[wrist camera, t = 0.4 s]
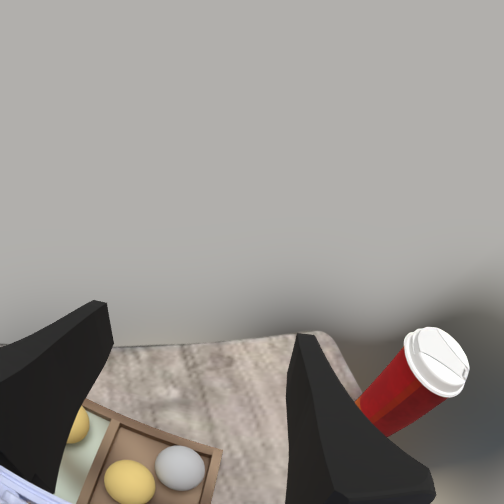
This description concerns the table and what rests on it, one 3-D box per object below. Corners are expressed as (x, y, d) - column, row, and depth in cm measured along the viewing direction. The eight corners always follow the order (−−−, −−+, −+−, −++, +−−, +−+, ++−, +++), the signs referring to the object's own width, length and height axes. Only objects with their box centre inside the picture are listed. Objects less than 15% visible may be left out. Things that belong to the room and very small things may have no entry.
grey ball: (194, 499, 20) (203, 493, 18) (148, 484, 20) (149, 476, 18) (204, 460, 24) (214, 448, 21) (160, 446, 23) (164, 432, 21)
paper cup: (398, 426, 32) (478, 359, 24) (368, 466, 27) (462, 404, 19) (357, 386, 36) (426, 310, 28) (321, 420, 31) (400, 344, 23)
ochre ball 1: (82, 456, 20) (74, 443, 18) (42, 435, 20) (30, 418, 17) (98, 420, 23) (94, 402, 21) (60, 401, 23) (52, 380, 21)
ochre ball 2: (147, 515, 18) (148, 511, 16) (100, 497, 18) (94, 489, 15) (159, 476, 21) (163, 466, 19) (114, 458, 21) (112, 446, 19)
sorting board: (191, 569, 15) (194, 571, 14) (-1, 484, 14) (-8, 480, 13) (219, 454, 25) (223, 449, 24) (50, 385, 24) (47, 376, 23)
